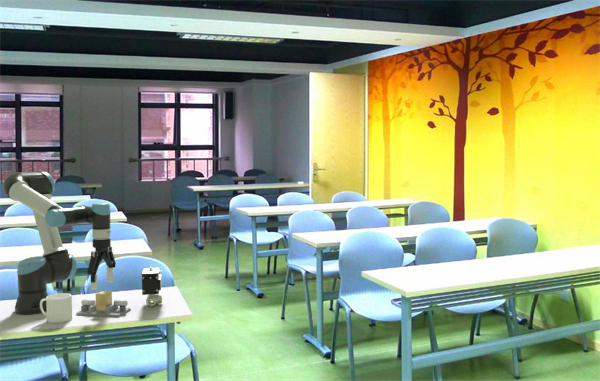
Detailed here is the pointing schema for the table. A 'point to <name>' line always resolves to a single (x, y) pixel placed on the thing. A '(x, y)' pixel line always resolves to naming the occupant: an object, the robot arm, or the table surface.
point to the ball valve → (152, 285)
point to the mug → (58, 308)
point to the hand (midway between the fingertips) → (102, 285)
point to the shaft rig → (111, 311)
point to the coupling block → (103, 300)
